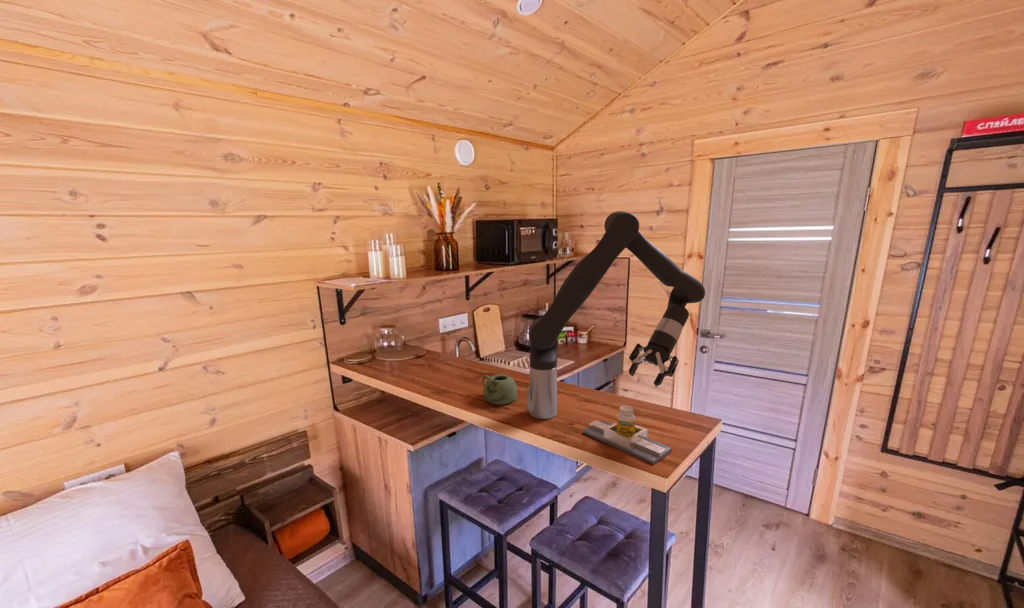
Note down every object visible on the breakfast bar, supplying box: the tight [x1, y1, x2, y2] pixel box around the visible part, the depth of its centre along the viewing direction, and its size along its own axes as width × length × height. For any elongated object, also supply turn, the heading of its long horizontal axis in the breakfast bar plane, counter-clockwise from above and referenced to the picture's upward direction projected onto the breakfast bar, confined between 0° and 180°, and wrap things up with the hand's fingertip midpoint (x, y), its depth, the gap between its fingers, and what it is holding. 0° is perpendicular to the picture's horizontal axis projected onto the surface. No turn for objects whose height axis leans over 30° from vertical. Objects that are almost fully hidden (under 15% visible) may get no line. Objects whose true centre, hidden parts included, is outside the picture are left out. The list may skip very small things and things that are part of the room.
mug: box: [482, 374, 518, 406], centre depth 156 cm, size 16×13×9 cm
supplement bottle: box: [616, 405, 637, 437], centre depth 123 cm, size 5×5×10 cm
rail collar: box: [582, 419, 673, 465], centre depth 123 cm, size 24×10×4 cm, turn 42°
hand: (642, 380), depth 128 cm, fingers open, 8 cm apart
